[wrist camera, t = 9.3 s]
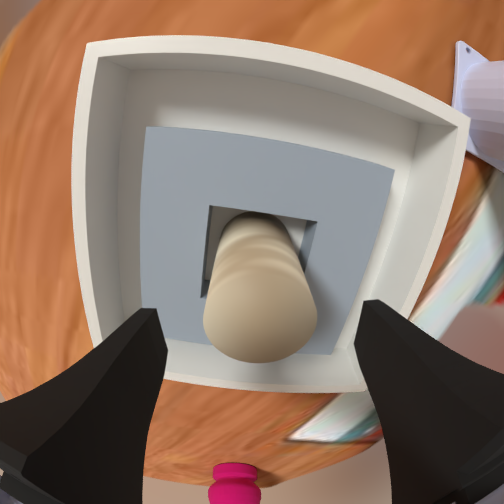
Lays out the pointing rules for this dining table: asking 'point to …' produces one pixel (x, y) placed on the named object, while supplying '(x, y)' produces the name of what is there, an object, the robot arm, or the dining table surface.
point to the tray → (260, 125)
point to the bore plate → (260, 200)
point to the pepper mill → (234, 484)
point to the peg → (258, 292)
